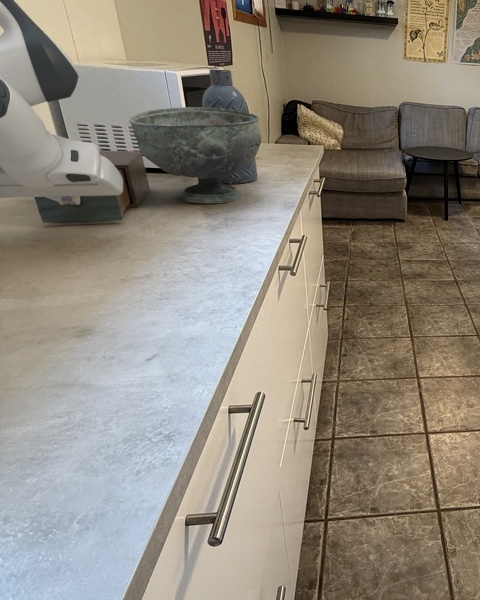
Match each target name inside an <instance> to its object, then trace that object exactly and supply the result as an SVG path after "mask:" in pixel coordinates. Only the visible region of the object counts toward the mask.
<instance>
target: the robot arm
mask: <svg viewBox="0 0 480 600" xmlns="http://www.w3.org/2000/svg"><path fill="white" fill-rule="evenodd" d="M0 27H1V29H3V33H1V34H0V199H3V198H4V199H5V198H6V199H8V198H11V199H12V198H34V197H46V198H49V199H52V200H55V201H58V202H59V203H60V204H61V205H79V204H80V196H107V195H120V194H121V193H122V192H123V178H122V176H121V174H120V173H119V171H118V170H117V168H116V167H115V166H114V165H113V164H112V162H111V161H110V160H108V159H107V158H106V157H104V156H101V155H100V153H99V151H100V148H99V147H98V145H97V144H95V143H92V142H87V141H81V140H78V139H77V140H76V139H72V138H67V137H64V136H61V135H57V134H54V133H51V132H50V131H49V130H48V129H47V127H46V125H45V123H44V121H43V120H42V118H41V117H40V115H39V114H38V112H36V111H35V109H34V108H33V107H34V106H37V105H40V104H43V103H46V102H47V103H51V102H55V101H59V100H65V99H68V98H71V96H72V95H73V94H74V92H75V90H76V88H77V85H78V80H79V74H78V72H77V70H76V67H75V65H74V63H73V61H72V60H71V58H70V57H69V55H68V54H67V53H66V52H65V50H64V49H63V48H62V47H61V46H60V45H59V44H58V43H57V42H56V41H55V40H53V39H52V38H51V37H50V36H49V35H48V34H46V33H45V31H44V30H42V29H41V28H40V26H39V25H37V23H36V22H34V20H33V19H32V18H31V17H30V16H29V15H28V13H26V12H25V11H24V10H23V9H22V7H21V6H20V5H19V4H18V3H17V2H16V1H15V0H0Z"/></svg>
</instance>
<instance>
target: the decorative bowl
mask: <svg viewBox="0 0 480 600" xmlns="http://www.w3.org/2000/svg"><path fill="white" fill-rule="evenodd" d="M259 119H260V117H259V115H257V114H254V113H249V112H248V113H245V112H238V111H235V110H227V109H217V108H206V107H203V106H202V107H201V106H199V107H198V106H189V107H188V106H185V107H183V106H182V107H166V108H158V109H149V110H145V111H143V112H141V113H140V112H137V113H135V114H133V115H131V116H129V117H128V119H127V120H128V122H129V123H130V125H131V129H132V132H133V135H134V137H135V140H136V142H137V147H138V151H141V153H142V157H143V158H145V159H147V160H148V161H150V162H151V163H152V164H154V165H155V166H157V167H158V168H160V169H161V170H162V171H164V172H166V173H168V174H171V175H173V176H179V177H187V178H191V179H194V178H197V180H198V182H197V183H196V184H193V185H189V186H188V187H185V188H184V190H183V192H182V196H183V198H184V200H185V202H187V203H194V204H223V203H230V202H233V201H236V200H239V199H240V196H241V194H240V191H239V190H238V188H236V187H235V186H232V184H228V183H221V182H220V181H219V177H224V176H228V175H231V174H233V173H236V172H238V171H240V170H242V169H243V168H245V167H246V166H247V165H248V164H250V163H251V161H252V160H253V159H254V158H255V159H256V156H257V154H258V152H259V150H260V146H261V144H262V134H261V130H260V127H259Z"/></svg>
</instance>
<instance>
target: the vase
mask: <svg viewBox="0 0 480 600" xmlns="http://www.w3.org/2000/svg"><path fill="white" fill-rule="evenodd" d="M208 71H209V77H210V85H209V87H207V88H206V90H205V91H204V93H203V95H202V107H206V108H217V109H227V110H235V111H238V112H245V113H248V114H249V110H248V109H249V108H248V106H247V102H246V99H245V97H244V96H243V94H242V93H241V92H240V90H239V89H238V88H236V87H235V86H234V84H233V77H232V71H231V70H230V69H215V68H214V69H213V68H211V69H210V68H209V70H208ZM257 179H258V168H257V161H256V157H255V158H254V159H253V160H252V161H251V163H250V164H248V165H247V166H246V167H245V168H243V169H242V170H240V171H238V172H236V173H233V174H231V175H228V176H224V177H219V181H220V182H221V183H223V184H228V185H237V184H246V183H251V182H255V181H256V180H257Z"/></svg>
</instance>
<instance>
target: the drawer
mask: <svg viewBox="0 0 480 600" xmlns="http://www.w3.org/2000/svg"><path fill="white" fill-rule="evenodd" d="M117 170H118V171H119V173H120V174H121V176H122V178H123V192H122V193H121V194H120V195H107V196H80V204H79V205H61V204H60V203H59V202H58V201H55V200H52V199H49V198H46V197H33V198H34V201H35V204H36V206H37V210H38V213H39V216H40V219H41V221H42V223H43V224H44V223H47V224H48V223H71V222H72V223H73V222H97V221H99V222H100V221H121V220H124V219H125V217H124V211H125V210H126V209H127V208H126V207H127V206H128V205H129V203H130V202H131V201H132V197H131V193H130V189H129V185H128V181H127V177H126V173H125V168H119V169H117Z"/></svg>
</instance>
